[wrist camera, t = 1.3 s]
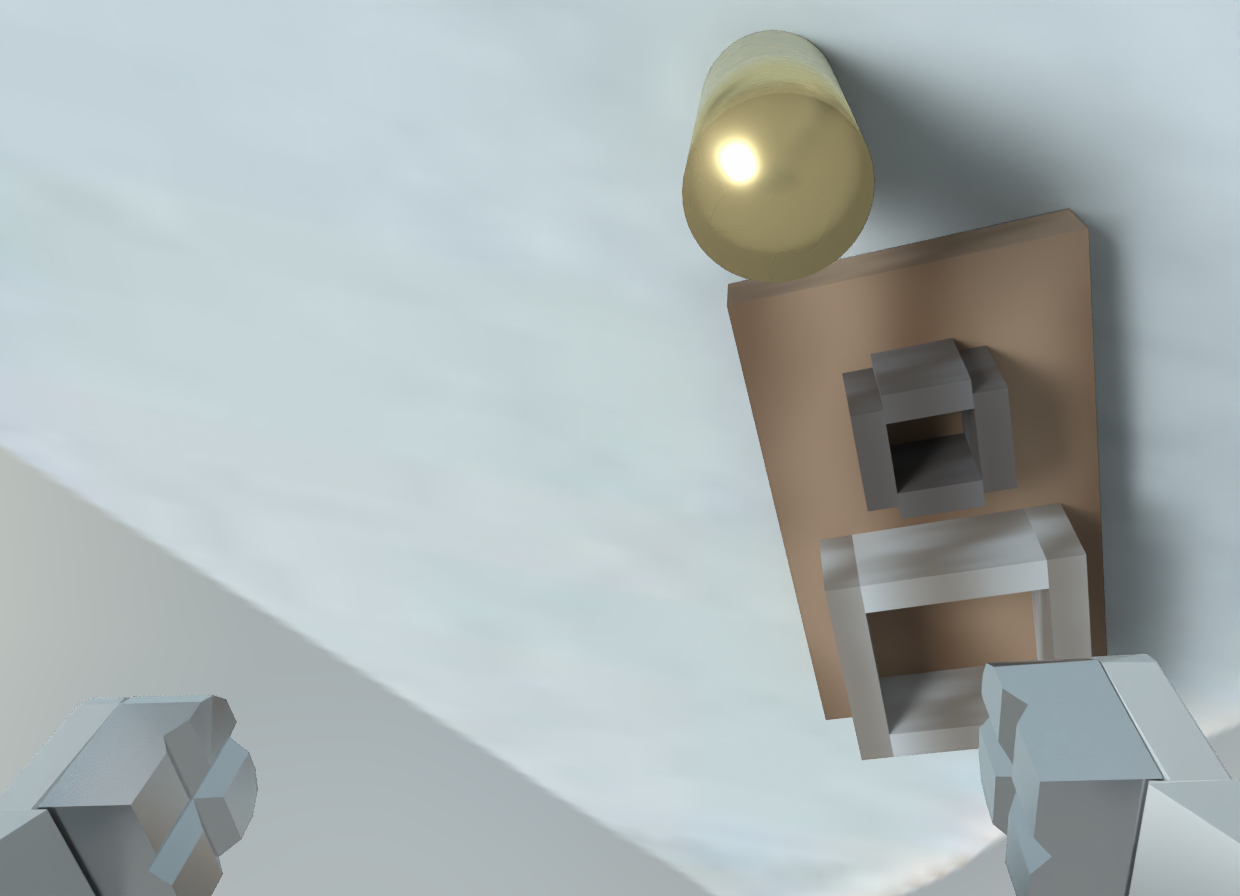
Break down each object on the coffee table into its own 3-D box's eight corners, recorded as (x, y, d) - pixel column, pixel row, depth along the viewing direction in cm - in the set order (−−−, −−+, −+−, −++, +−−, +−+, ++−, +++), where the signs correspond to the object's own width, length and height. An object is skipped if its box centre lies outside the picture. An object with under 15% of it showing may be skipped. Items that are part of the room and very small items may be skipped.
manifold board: (1069, 208, 30) (1122, 262, 26) (1092, 653, 39) (1134, 748, 35) (728, 284, 33) (724, 344, 28) (822, 685, 42) (831, 777, 37)
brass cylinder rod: (825, 13, 28) (858, 69, 20) (847, 153, 30) (887, 259, 22) (686, 52, 29) (661, 121, 21) (717, 185, 31) (706, 299, 22)
